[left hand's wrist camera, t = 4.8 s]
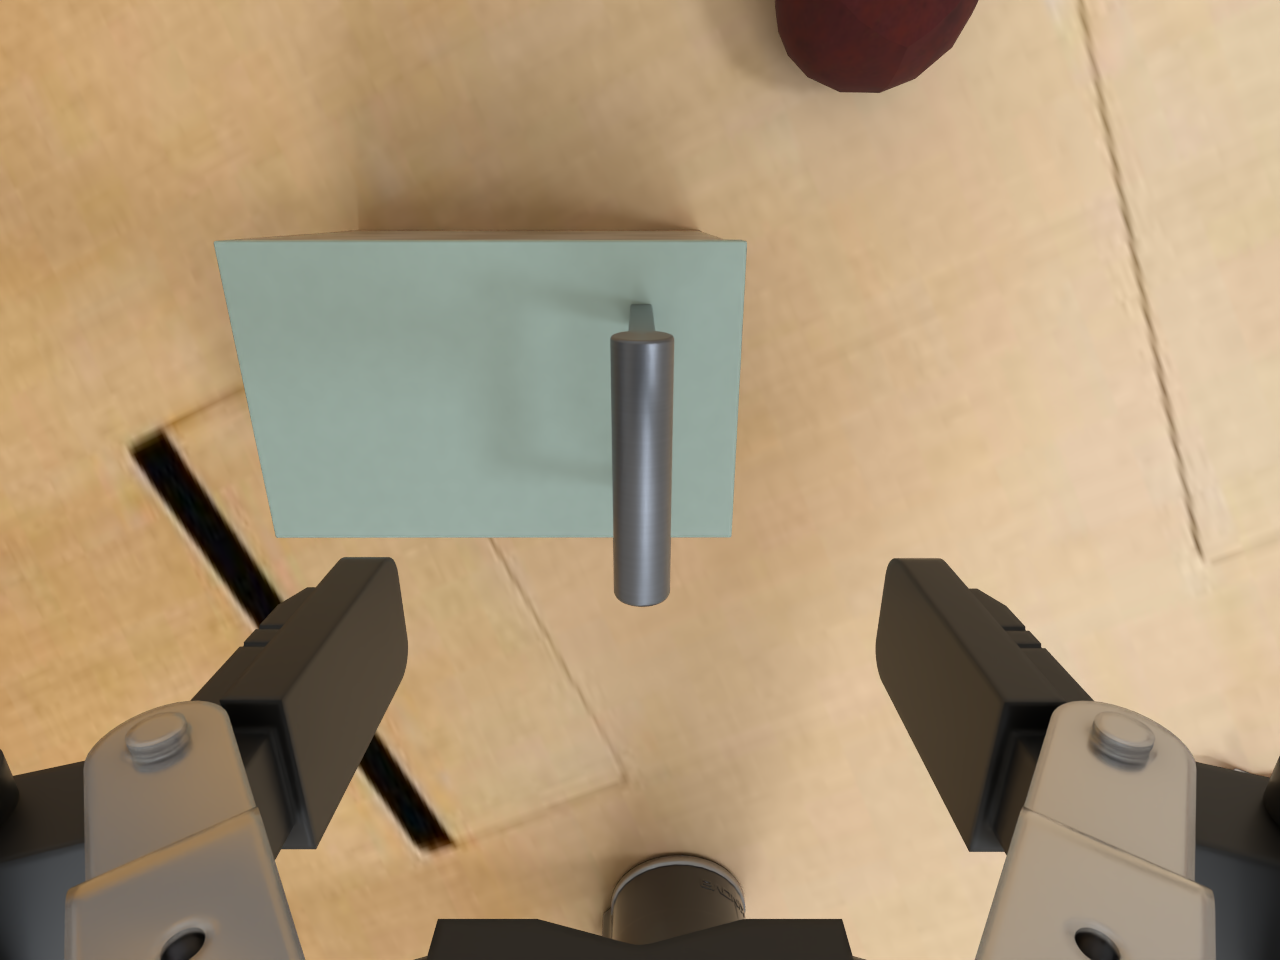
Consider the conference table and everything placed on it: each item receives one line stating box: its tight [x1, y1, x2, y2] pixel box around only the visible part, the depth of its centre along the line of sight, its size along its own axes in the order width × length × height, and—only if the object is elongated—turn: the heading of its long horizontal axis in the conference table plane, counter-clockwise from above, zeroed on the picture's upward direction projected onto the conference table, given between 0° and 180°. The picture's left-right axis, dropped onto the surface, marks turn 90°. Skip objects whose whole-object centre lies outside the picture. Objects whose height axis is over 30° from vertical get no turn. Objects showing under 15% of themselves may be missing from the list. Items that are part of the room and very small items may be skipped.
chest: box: [236, 230, 724, 240], centre depth 30 cm, size 16×10×11 cm, turn 90°
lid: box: [214, 240, 747, 607], centre depth 21 cm, size 17×10×9 cm, turn 90°
